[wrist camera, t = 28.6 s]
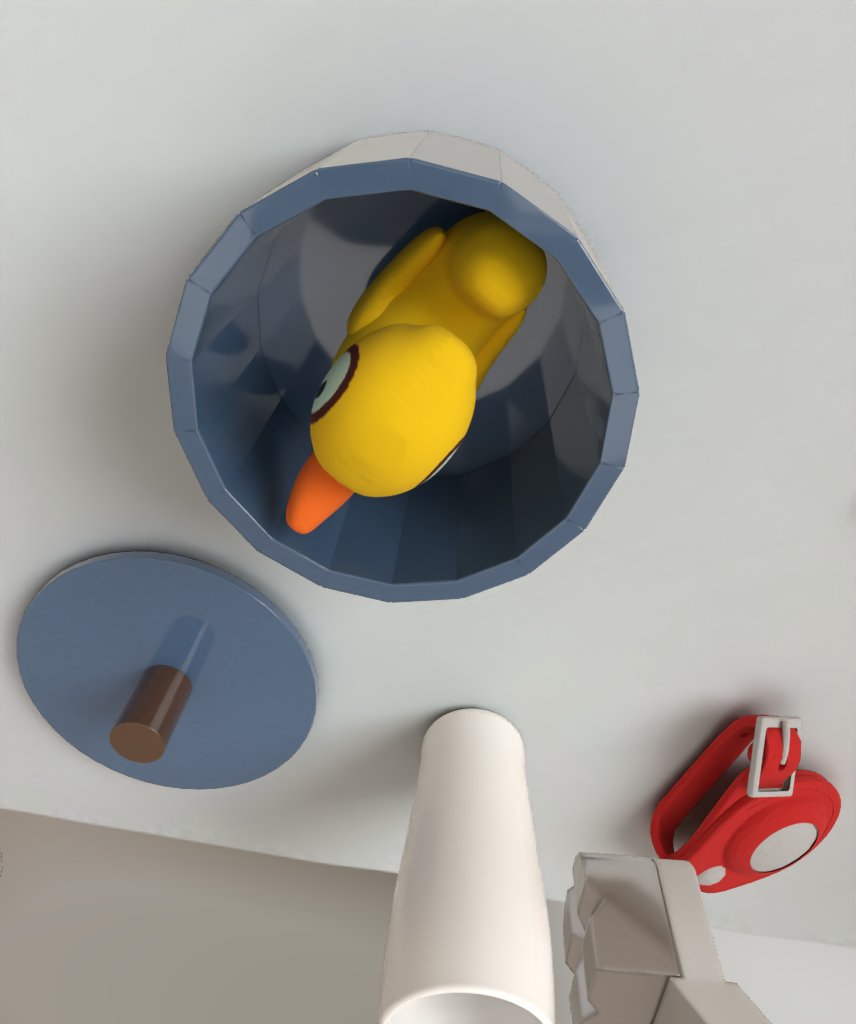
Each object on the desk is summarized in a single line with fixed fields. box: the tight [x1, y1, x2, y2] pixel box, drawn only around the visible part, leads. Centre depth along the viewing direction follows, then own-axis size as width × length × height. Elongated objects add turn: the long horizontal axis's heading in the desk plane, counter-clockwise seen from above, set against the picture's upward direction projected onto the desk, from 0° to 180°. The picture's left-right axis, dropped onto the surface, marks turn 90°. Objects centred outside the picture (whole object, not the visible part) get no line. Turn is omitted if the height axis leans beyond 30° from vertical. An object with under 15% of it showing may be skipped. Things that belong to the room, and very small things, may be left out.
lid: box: [17, 551, 318, 789], centre depth 40 cm, size 15×15×5 cm
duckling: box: [286, 211, 547, 534], centre depth 27 cm, size 11×5×10 cm, turn 140°
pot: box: [166, 131, 639, 603], centre depth 28 cm, size 14×14×8 cm
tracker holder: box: [650, 715, 841, 893], centre depth 42 cm, size 12×4×10 cm
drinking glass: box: [379, 709, 556, 1024], centre depth 36 cm, size 7×7×15 cm
